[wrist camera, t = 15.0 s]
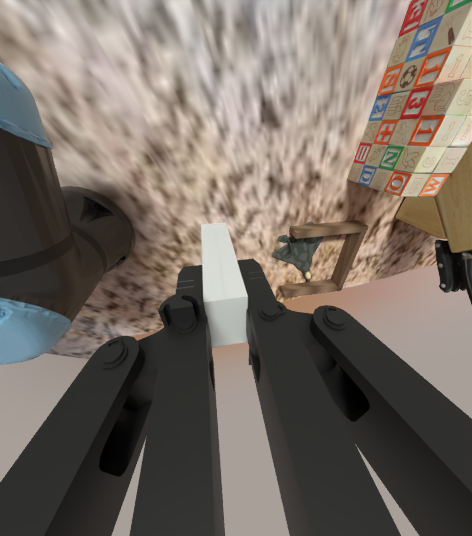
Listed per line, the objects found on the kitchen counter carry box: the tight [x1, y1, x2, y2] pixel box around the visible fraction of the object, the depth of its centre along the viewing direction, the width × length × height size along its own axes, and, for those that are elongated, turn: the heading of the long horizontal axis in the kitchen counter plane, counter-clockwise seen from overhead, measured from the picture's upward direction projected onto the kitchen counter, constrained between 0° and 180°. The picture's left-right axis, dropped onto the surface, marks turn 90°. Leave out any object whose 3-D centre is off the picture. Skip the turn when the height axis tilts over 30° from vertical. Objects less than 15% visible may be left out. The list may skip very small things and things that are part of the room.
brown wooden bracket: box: [280, 220, 368, 298], centre depth 45 cm, size 16×18×4 cm
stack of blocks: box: [347, 0, 472, 197], centre depth 26 cm, size 21×6×12 cm, turn 178°
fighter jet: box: [273, 222, 324, 283], centre depth 45 cm, size 13×18×4 cm
